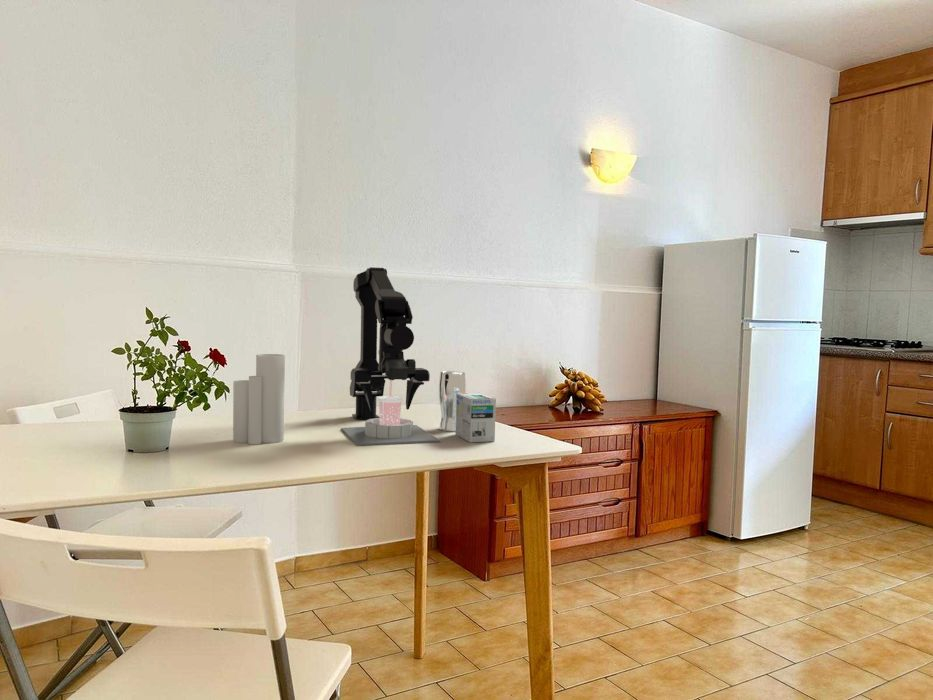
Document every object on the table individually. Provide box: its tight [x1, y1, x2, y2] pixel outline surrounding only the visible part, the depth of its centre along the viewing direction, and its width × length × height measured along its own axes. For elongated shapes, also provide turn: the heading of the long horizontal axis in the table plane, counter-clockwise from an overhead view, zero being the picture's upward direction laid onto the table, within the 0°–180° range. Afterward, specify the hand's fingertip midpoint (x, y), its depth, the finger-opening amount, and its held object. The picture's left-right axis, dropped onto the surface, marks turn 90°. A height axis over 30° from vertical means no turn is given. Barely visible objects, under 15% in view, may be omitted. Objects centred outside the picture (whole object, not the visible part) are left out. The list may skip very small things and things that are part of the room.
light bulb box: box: [455, 392, 497, 443], centre depth 182 cm, size 11×7×11 cm, turn 22°
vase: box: [232, 353, 286, 445], centre depth 170 cm, size 11×7×20 cm, turn 116°
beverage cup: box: [377, 380, 403, 425], centre depth 181 cm, size 6×6×14 cm
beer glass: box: [438, 370, 466, 432], centre depth 192 cm, size 7×7×15 cm
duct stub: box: [340, 417, 441, 447], centre depth 181 cm, size 20×20×4 cm
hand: (389, 409), depth 181 cm, fingers open, 9 cm apart
